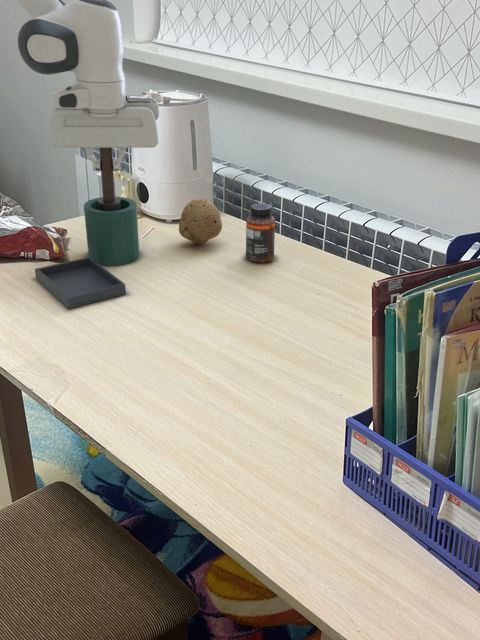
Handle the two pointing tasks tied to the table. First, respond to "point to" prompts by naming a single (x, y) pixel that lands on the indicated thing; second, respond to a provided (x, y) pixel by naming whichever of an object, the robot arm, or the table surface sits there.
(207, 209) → the natural sponge
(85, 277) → the tray
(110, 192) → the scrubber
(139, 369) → the table surface
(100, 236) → the jar
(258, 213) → the supplement bottle
